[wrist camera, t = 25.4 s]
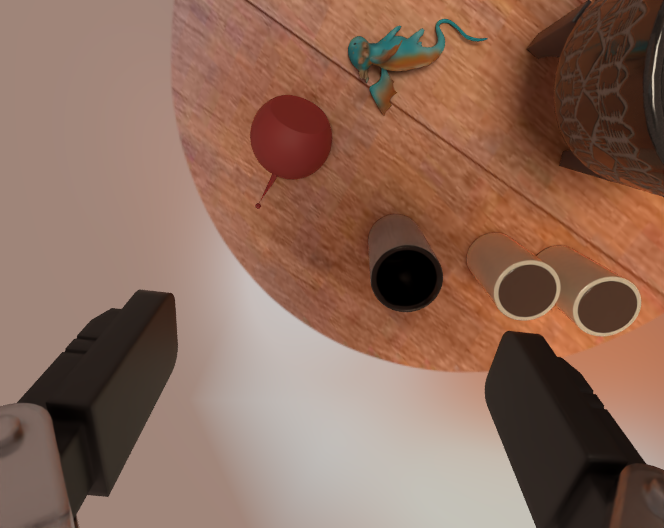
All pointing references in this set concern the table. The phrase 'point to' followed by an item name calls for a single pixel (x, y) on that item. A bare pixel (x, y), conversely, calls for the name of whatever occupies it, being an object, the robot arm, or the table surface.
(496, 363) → the robot arm
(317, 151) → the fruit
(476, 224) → the table surface
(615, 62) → the planter
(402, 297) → the grey cylindrical cup
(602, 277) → the pot
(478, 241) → the pot
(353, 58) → the dragon figurine
